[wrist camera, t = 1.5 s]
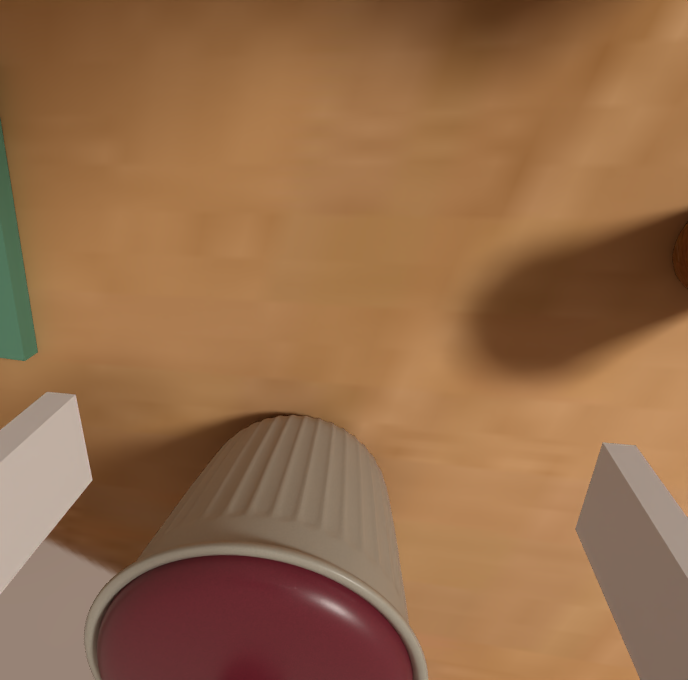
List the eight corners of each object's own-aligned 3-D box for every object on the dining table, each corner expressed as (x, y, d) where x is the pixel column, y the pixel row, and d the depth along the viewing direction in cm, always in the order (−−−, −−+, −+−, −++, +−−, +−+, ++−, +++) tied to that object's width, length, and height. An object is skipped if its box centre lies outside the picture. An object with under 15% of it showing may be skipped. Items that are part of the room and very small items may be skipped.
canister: (462, 475, 40) (527, 805, 21) (314, 586, 47) (261, 916, 28) (287, 328, 36) (172, 570, 17) (152, 471, 43) (-42, 764, 24)
